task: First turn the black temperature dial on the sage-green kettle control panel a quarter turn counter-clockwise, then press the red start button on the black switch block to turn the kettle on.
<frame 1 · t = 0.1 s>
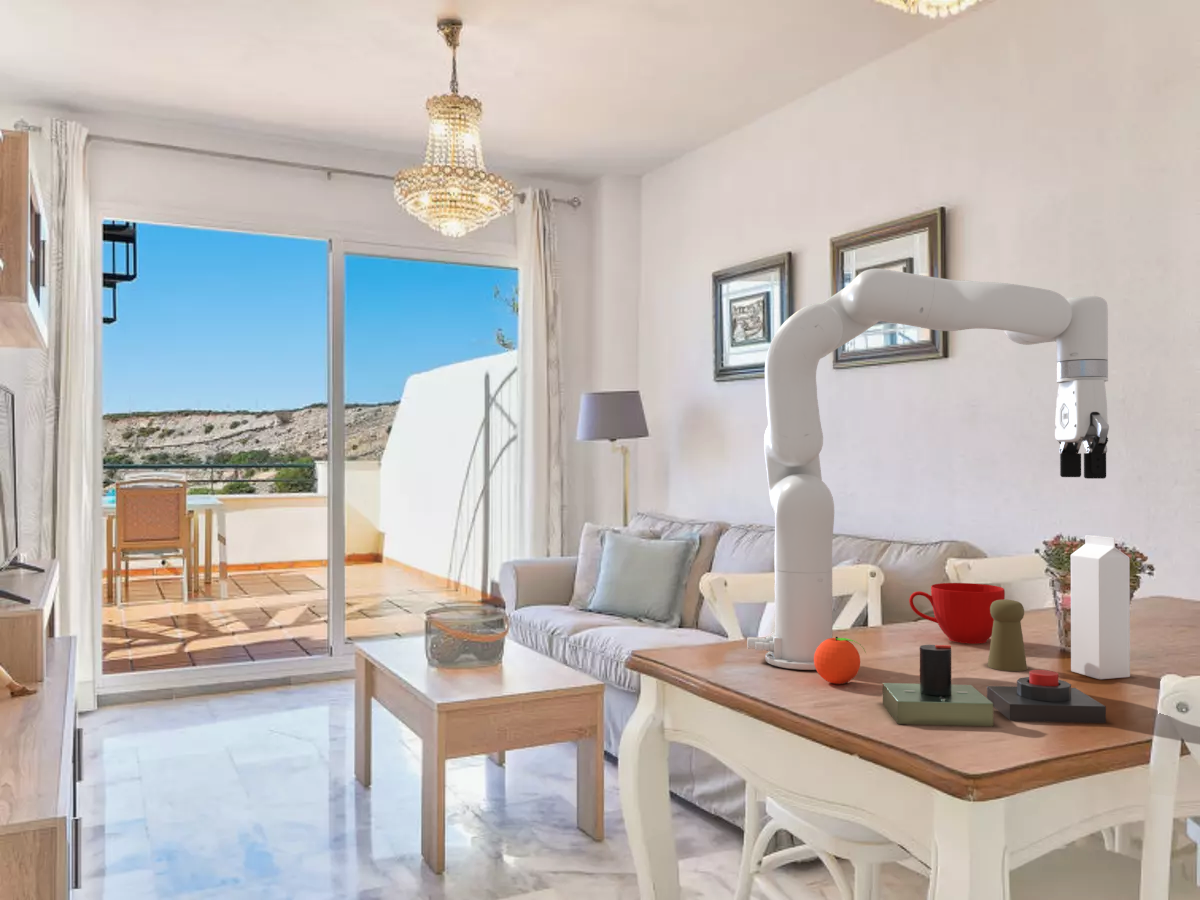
hand: (1082, 477, 156), 31 cm above the table, tool pointing down, fingers open, 9 cm apart
start button: (1043, 679, 130), point 4 cm above the table, slide at 0.1 cm
dial panel: (935, 714, 128), on the table
ceramic cup: (956, 641, 180), on the table
cork: (1007, 668, 157), on the table
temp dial: (935, 668, 128), point 6 cm above the table, hinge at 0.0°
milk: (1100, 675, 152), on the table
switch block: (1043, 711, 129), on the table
clementine: (840, 684, 146), on the table
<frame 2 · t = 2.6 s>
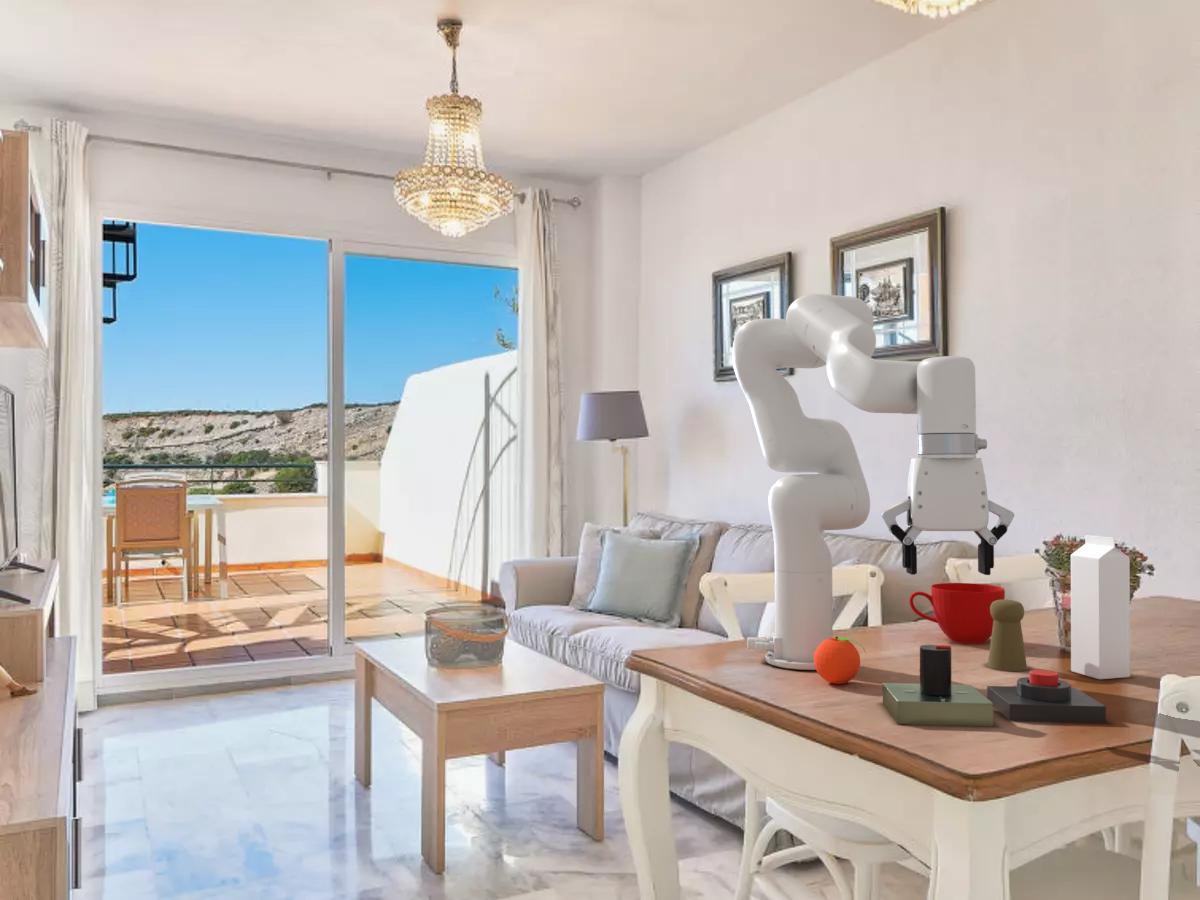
hand: (947, 573, 130), 19 cm above the table, tool pointing down, fingers open, 9 cm apart
nothing on the table moved.
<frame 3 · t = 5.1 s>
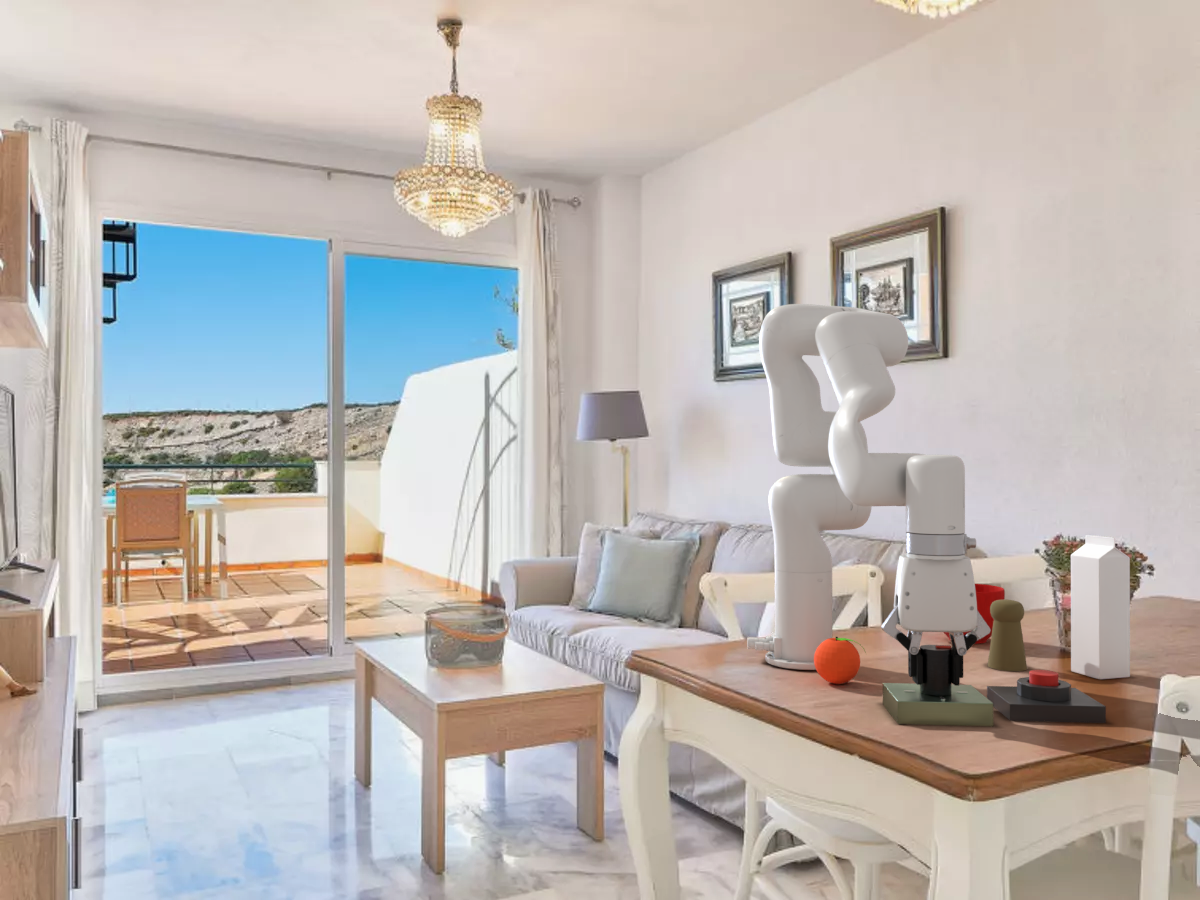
hand: (935, 681, 128), 5 cm above the table, tool pointing down, fingers closed on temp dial, 4 cm apart
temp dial: (935, 668, 128), point 6 cm above the table, hinge at 0.0°, touching gripper
everything else where it was.
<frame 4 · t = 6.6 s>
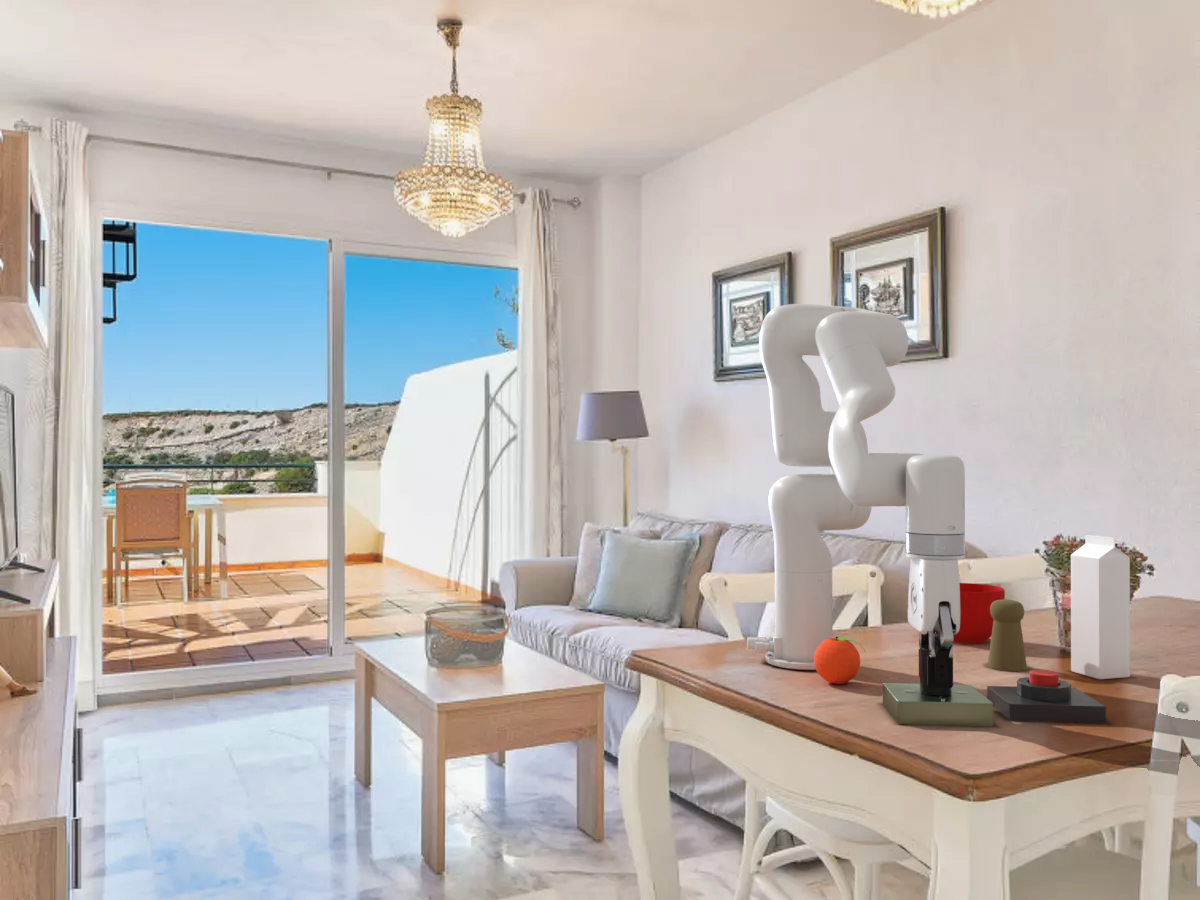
hand: (935, 681, 128), 4 cm above the table, tool pointing down, fingers closed on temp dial, 4 cm apart
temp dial: (935, 668, 128), point 6 cm above the table, hinge at 89.9°, touching gripper
everything else where it was.
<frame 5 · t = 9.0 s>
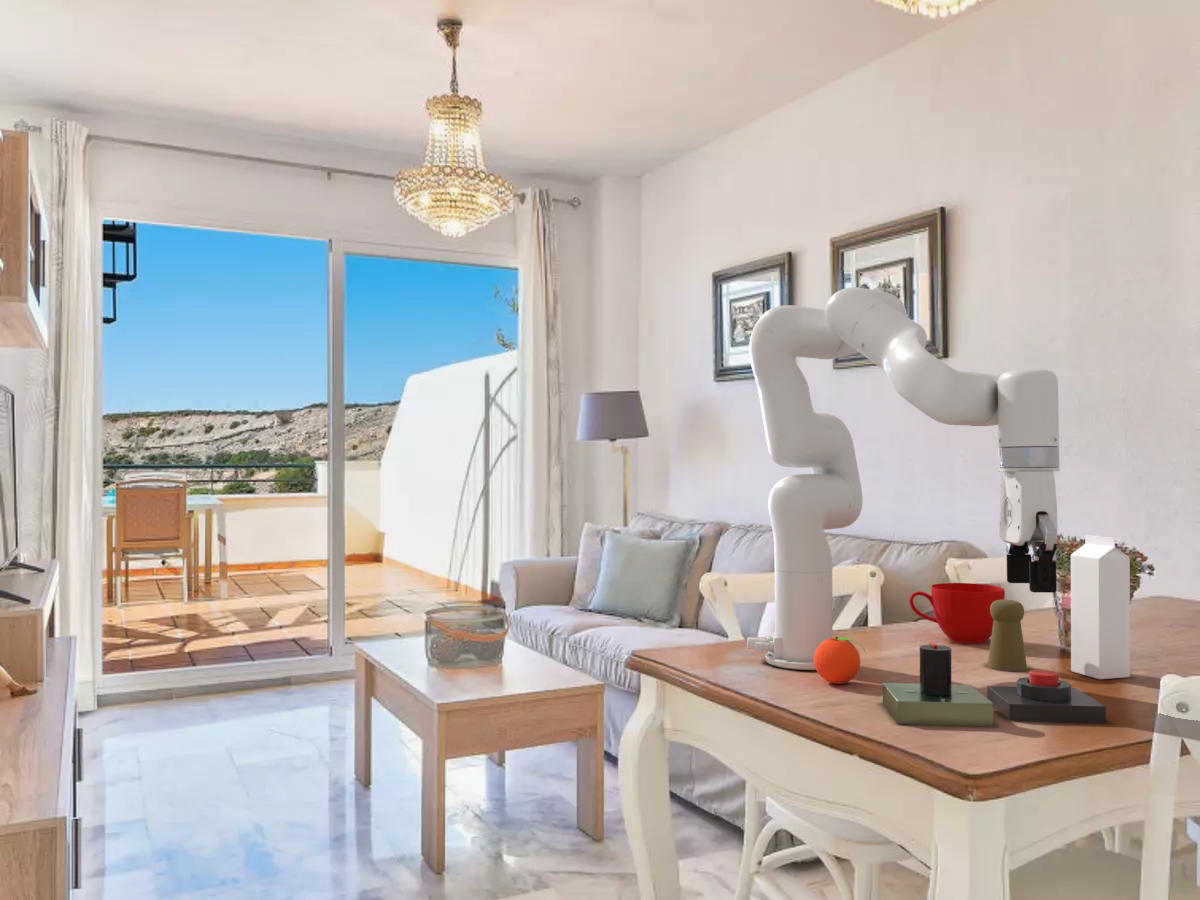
hand: (1030, 587, 129), 17 cm above the table, tool pointing down, fingers open, 9 cm apart
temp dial: (935, 668, 128), point 6 cm above the table, hinge at 89.6°
everything else where it was.
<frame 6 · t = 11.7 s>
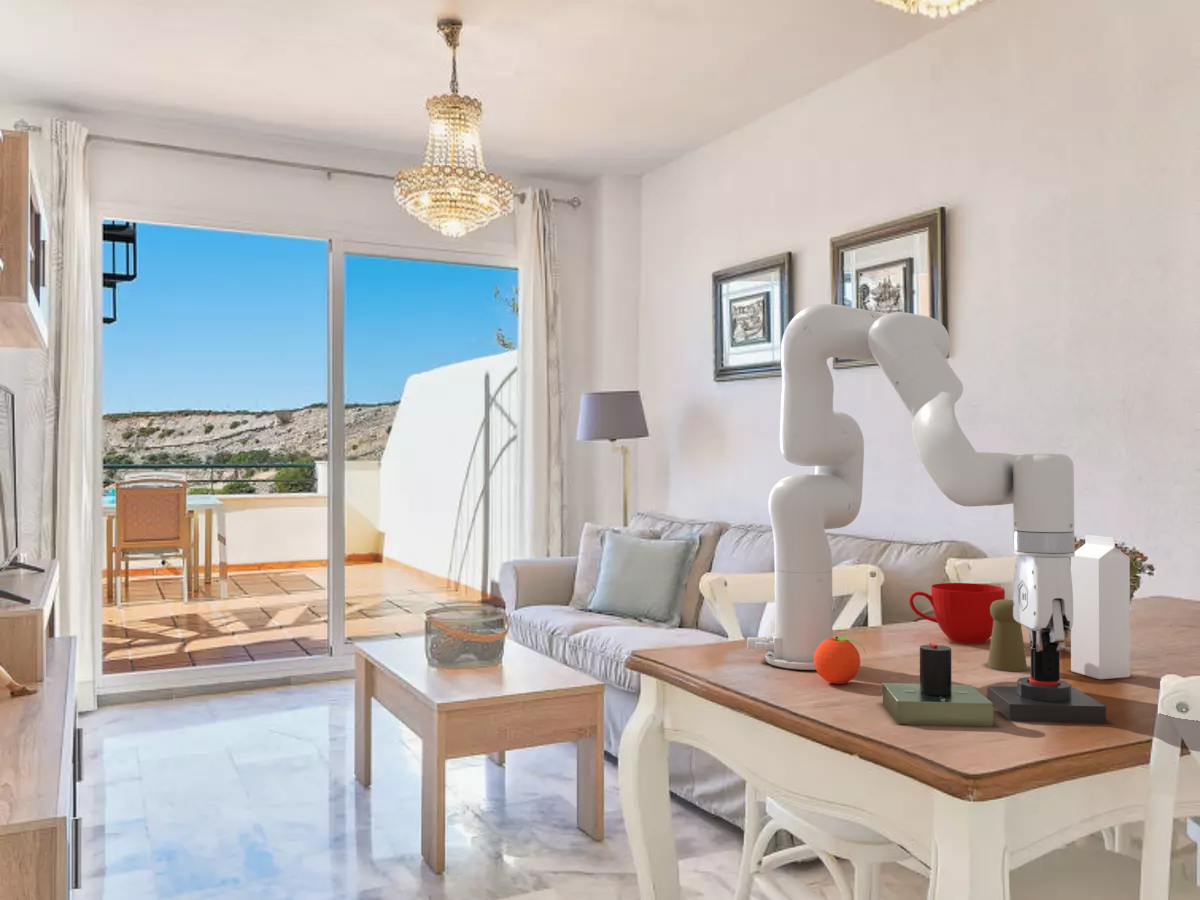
hand: (1045, 679, 129), 4 cm above the table, tool pointing down, fingers closed
start button: (1043, 686, 130), point 4 cm above the table, slide at -0.9 cm, touching gripper
everything else where it was.
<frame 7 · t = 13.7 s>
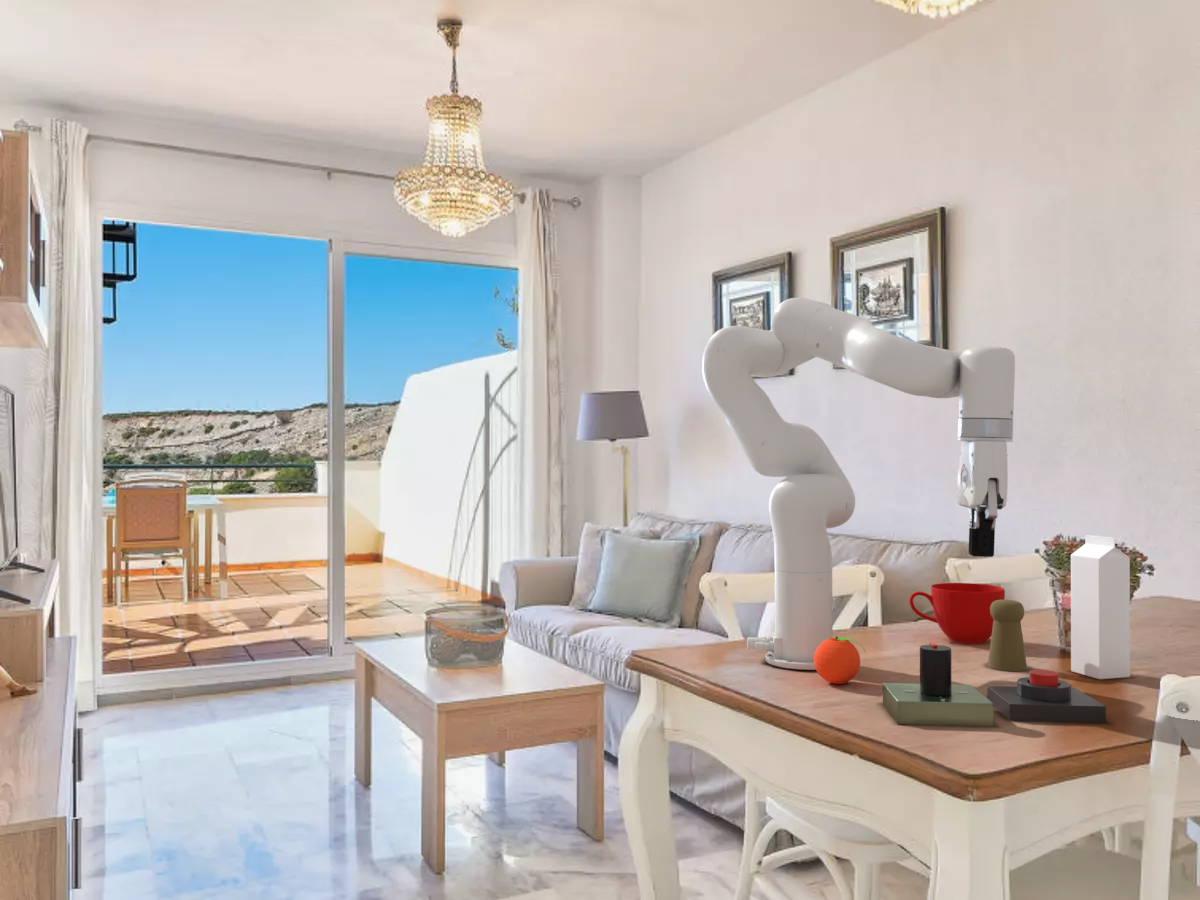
hand: (981, 555, 141), 20 cm above the table, tool pointing down, fingers closed
start button: (1043, 679, 130), point 4 cm above the table, slide at 0.1 cm
everything else where it was.
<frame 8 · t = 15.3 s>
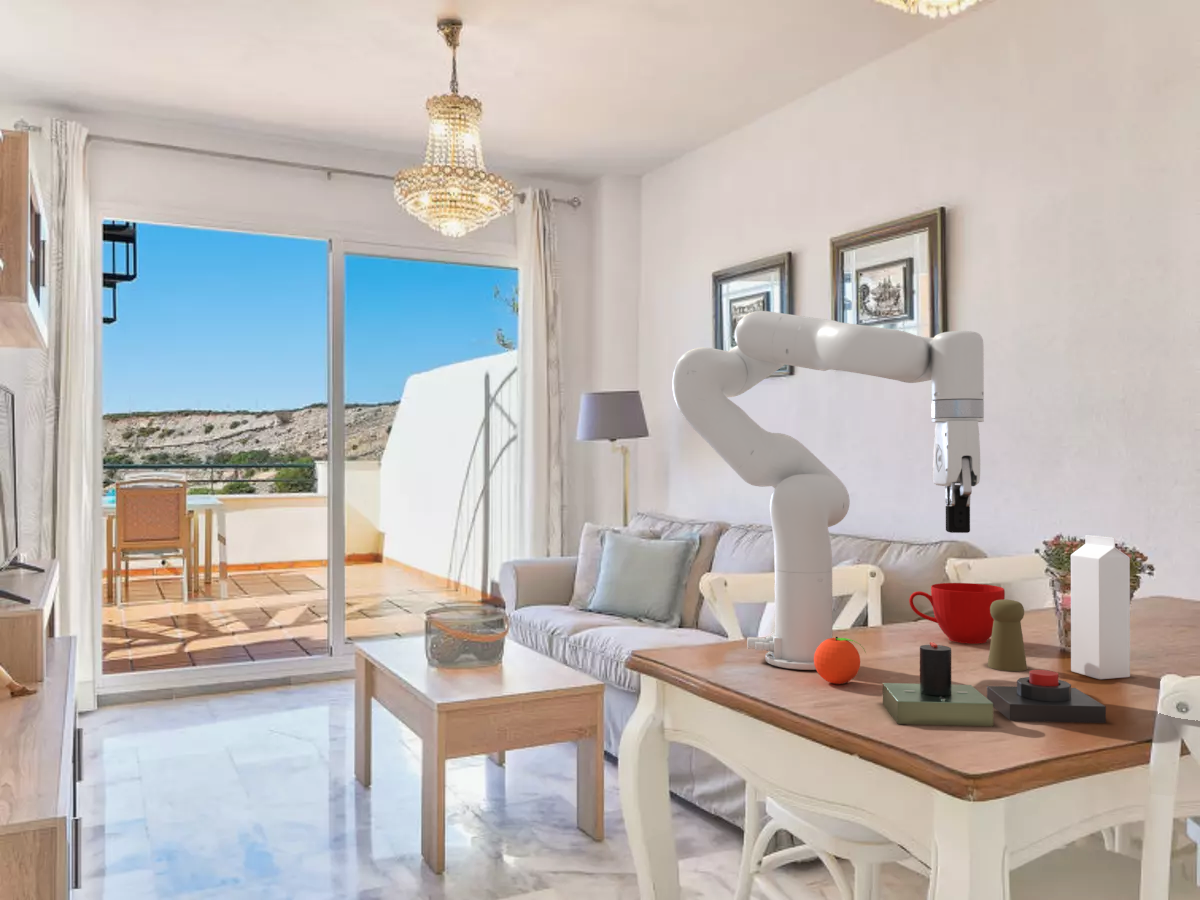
hand: (957, 532, 146), 23 cm above the table, tool pointing down, fingers closed
nothing on the table moved.
at the end: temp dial at +90° (first picture: +0°); start button pushed in 1.1 cm at the most during the clip and back out by the end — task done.
